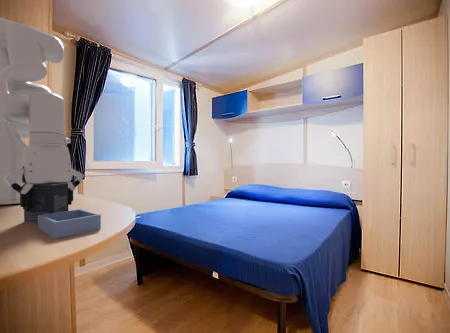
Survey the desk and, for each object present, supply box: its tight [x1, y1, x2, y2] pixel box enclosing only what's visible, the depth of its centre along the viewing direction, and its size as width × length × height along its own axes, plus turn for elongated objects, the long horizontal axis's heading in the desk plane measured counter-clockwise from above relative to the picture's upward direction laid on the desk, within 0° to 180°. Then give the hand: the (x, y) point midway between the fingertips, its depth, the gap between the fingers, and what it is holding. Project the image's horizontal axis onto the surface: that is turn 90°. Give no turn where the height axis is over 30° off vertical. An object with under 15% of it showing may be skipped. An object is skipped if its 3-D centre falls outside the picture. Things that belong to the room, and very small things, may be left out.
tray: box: [37, 208, 102, 240], centre depth 55 cm, size 11×9×4 cm
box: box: [23, 183, 69, 224], centre depth 61 cm, size 8×6×11 cm
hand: (48, 206), depth 61 cm, fingers closed on box, 8 cm apart
